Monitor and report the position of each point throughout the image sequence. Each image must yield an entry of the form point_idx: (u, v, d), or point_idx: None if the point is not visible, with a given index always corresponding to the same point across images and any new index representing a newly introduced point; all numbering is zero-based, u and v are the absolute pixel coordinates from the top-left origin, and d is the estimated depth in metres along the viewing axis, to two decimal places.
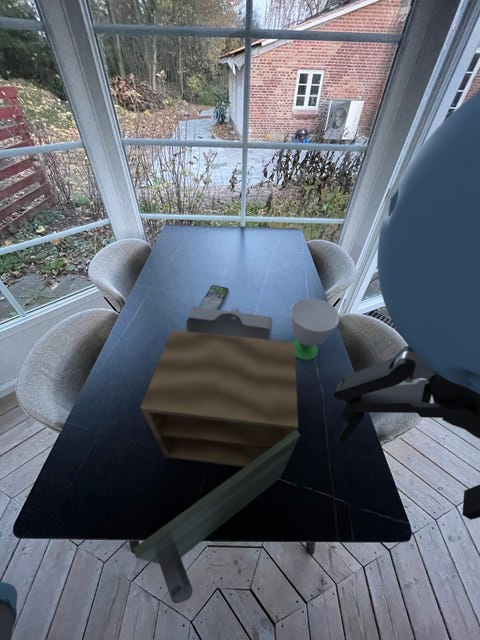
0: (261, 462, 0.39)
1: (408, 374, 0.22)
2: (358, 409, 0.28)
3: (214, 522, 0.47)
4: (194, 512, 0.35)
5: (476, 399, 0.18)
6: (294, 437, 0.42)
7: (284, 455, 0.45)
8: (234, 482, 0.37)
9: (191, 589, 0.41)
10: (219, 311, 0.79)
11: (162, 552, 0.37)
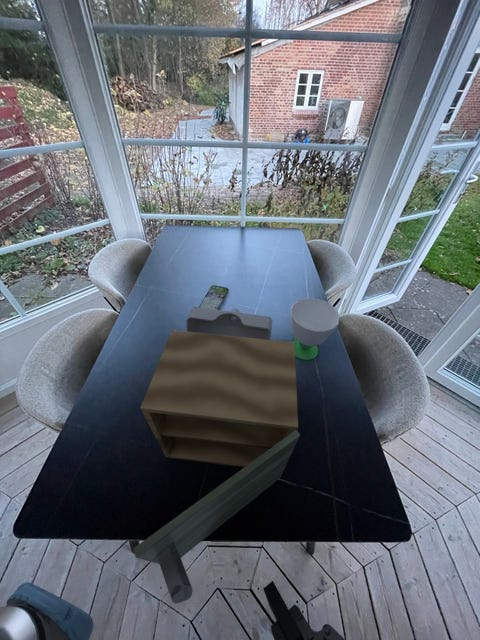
0: (261, 462, 0.39)
1: None
2: None
3: (214, 522, 0.47)
4: (194, 512, 0.35)
5: None
6: (294, 437, 0.42)
7: (284, 455, 0.45)
8: (234, 482, 0.37)
9: (191, 589, 0.41)
10: (219, 311, 0.79)
11: (162, 552, 0.37)
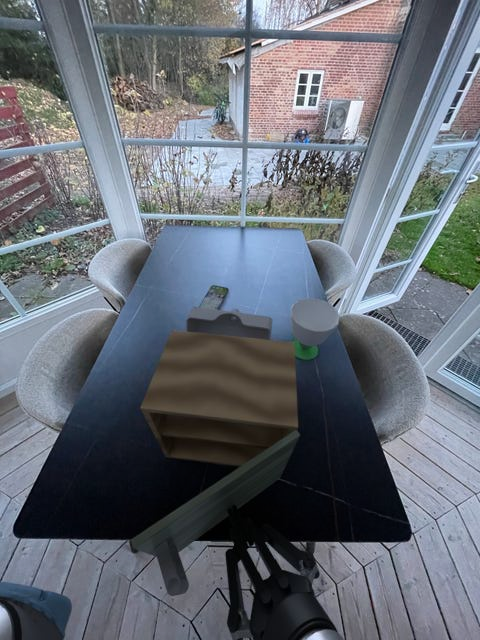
0: (260, 460, 0.39)
1: (306, 560, 0.34)
2: (254, 533, 0.41)
3: (212, 518, 0.47)
4: (192, 507, 0.35)
5: (301, 592, 0.29)
6: (294, 437, 0.42)
7: (284, 455, 0.45)
8: (232, 479, 0.37)
9: (187, 583, 0.41)
10: (219, 311, 0.79)
11: (159, 545, 0.38)
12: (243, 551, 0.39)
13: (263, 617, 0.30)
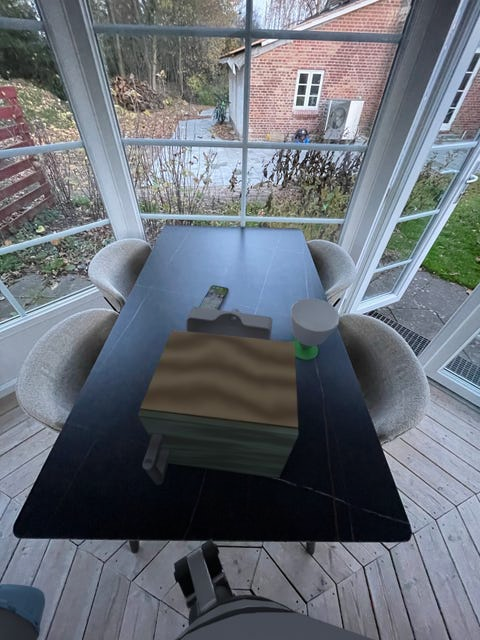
0: (250, 428, 0.43)
1: (181, 588, 0.15)
2: None
3: (203, 456, 0.54)
4: (183, 420, 0.43)
5: None
6: (291, 433, 0.42)
7: (279, 446, 0.46)
8: (221, 424, 0.43)
9: (161, 479, 0.51)
10: (219, 311, 0.79)
11: (156, 434, 0.48)
12: None
13: None
